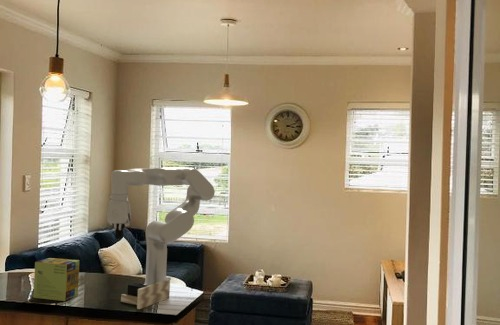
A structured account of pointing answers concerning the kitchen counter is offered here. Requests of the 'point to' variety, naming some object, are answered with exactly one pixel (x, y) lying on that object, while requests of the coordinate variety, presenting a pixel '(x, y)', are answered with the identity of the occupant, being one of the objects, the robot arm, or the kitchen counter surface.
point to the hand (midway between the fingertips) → (119, 238)
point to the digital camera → (134, 289)
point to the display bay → (149, 294)
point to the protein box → (56, 279)
